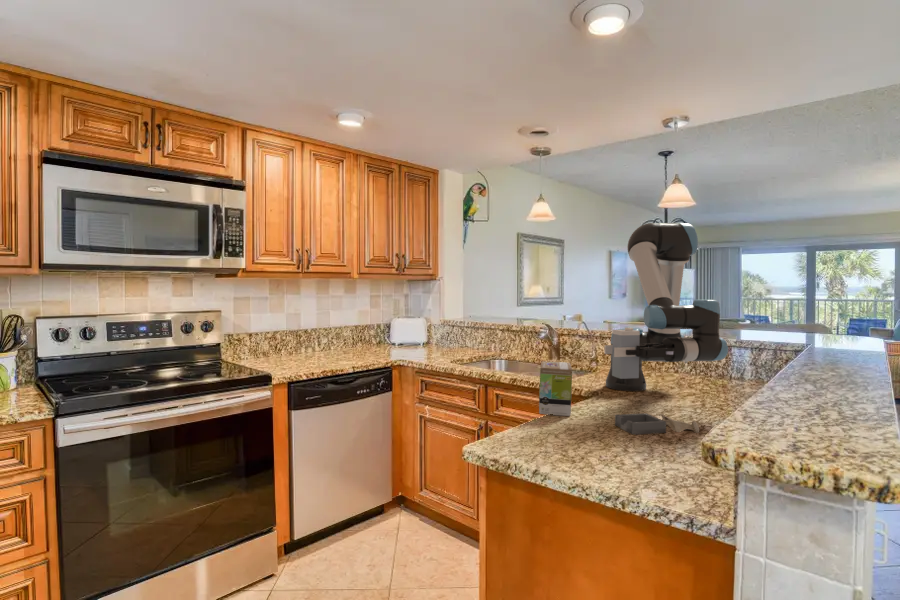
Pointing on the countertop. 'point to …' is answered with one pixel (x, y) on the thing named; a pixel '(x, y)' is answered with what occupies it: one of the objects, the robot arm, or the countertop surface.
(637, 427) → the pocket
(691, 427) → the fossil
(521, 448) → the countertop surface
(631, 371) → the grey tall block
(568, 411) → the tea box
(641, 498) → the countertop surface
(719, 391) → the countertop surface
